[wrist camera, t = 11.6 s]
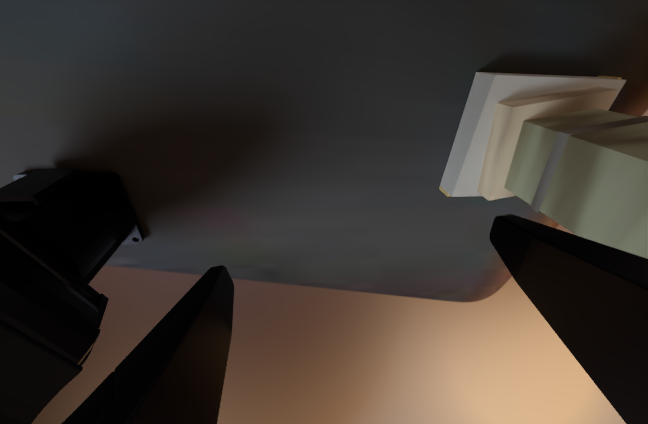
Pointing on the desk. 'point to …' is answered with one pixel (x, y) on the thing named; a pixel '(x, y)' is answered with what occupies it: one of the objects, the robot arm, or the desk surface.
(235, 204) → the desk surface
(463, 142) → the plate
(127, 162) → the desk surface
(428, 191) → the desk surface
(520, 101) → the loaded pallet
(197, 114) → the desk surface
